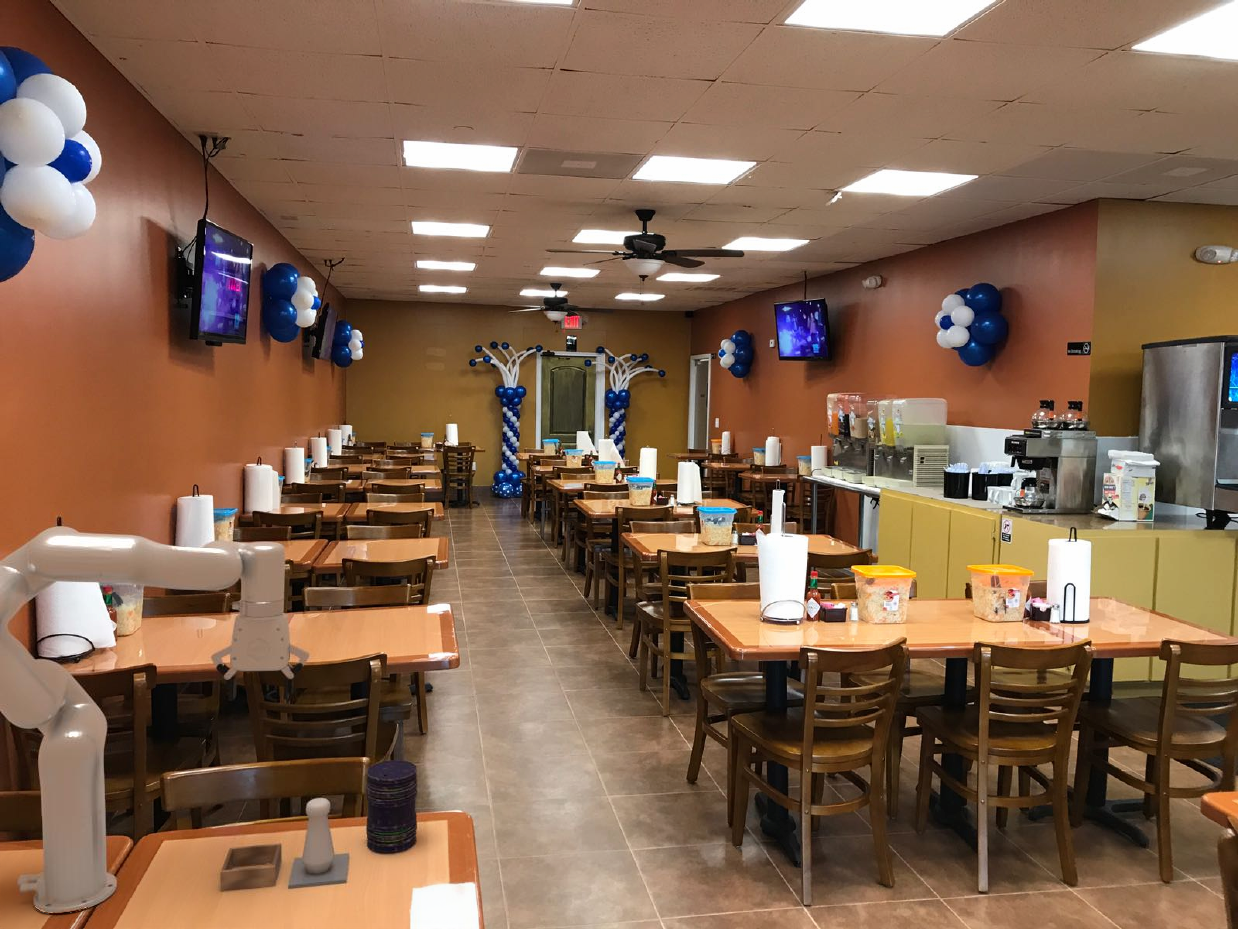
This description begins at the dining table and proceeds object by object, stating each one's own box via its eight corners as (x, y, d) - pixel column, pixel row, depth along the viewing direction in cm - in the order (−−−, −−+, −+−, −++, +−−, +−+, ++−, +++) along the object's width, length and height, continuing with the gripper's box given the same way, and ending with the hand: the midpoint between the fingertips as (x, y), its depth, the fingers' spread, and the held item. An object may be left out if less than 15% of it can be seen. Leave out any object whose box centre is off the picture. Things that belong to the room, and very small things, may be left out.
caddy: (220, 891, 163) (220, 872, 163) (229, 865, 172) (229, 847, 172) (275, 886, 166) (274, 867, 165) (281, 861, 174) (281, 843, 174)
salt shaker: (324, 878, 167) (324, 809, 166) (295, 874, 168) (295, 806, 167) (340, 862, 173) (340, 796, 172) (312, 859, 174) (312, 793, 173)
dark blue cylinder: (380, 828, 188) (380, 758, 187) (425, 834, 186) (425, 762, 185) (357, 851, 179) (356, 777, 178) (403, 857, 177) (404, 782, 176)
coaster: (288, 888, 165) (288, 885, 165) (294, 861, 174) (294, 858, 174) (345, 882, 167) (345, 879, 167) (348, 856, 177) (348, 853, 177)
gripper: (208, 612, 166) (205, 705, 167) (308, 612, 169) (305, 703, 170) (217, 603, 173) (215, 692, 174) (313, 604, 177) (310, 691, 178)
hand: (259, 698), depth 172 cm, fingers open, 9 cm apart
